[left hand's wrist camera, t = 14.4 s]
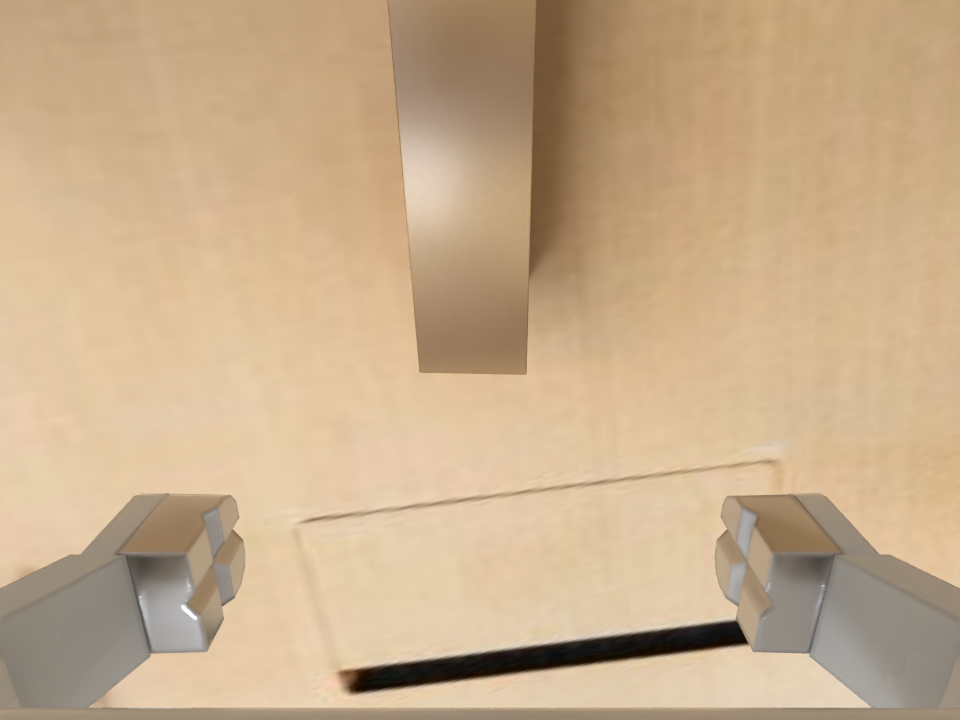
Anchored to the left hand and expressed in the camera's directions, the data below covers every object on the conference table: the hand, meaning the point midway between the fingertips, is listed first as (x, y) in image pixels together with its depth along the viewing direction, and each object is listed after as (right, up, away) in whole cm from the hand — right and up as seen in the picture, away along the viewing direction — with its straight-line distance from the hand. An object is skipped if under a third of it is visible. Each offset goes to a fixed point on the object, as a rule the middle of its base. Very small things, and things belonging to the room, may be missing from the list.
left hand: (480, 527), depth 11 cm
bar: (0, +18, +18) cm, 26 cm away
